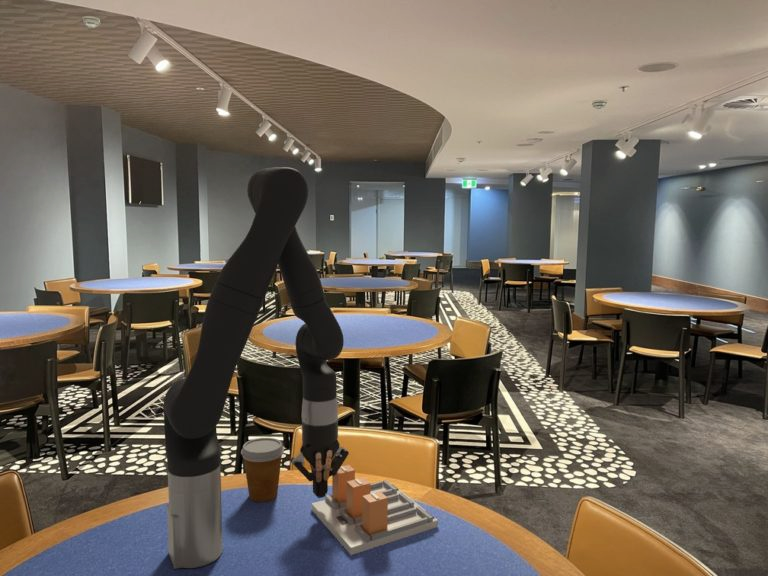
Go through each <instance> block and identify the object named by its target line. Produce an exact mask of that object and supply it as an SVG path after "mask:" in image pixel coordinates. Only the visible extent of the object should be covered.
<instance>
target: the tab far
mask: <svg viewBox="0 0 768 576" xmlns="http://www.w3.org/2000/svg"><path fill="white" fill-rule="evenodd" d="M331 477H332V478H331V483H332V484H331V485H332V488H331V489H332V490H331V494H332V498H333V499H334V500H335V501H336V503H337V504H338V505H339V503H340V502H344V501H347V481H351V480H355V479H356V470H355V468H353V467H352V466H351V465H350V464H346V465H341V467H340V469H339V470H338V472H337V473H336V475H335V476H331Z"/></svg>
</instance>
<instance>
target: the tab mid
mask: <svg viewBox="0 0 768 576" xmlns="http://www.w3.org/2000/svg"><path fill="white" fill-rule="evenodd" d="M370 484H371V482H370V481H368V480H367V479H366V478H365V477H364V476H363V477H359V478H355V480H351V481H347V514H348V515H349V516H350V517H351V518H352V519H353V520H354V518H355V517H359V516H362V496H364V495H368V494H370Z"/></svg>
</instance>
